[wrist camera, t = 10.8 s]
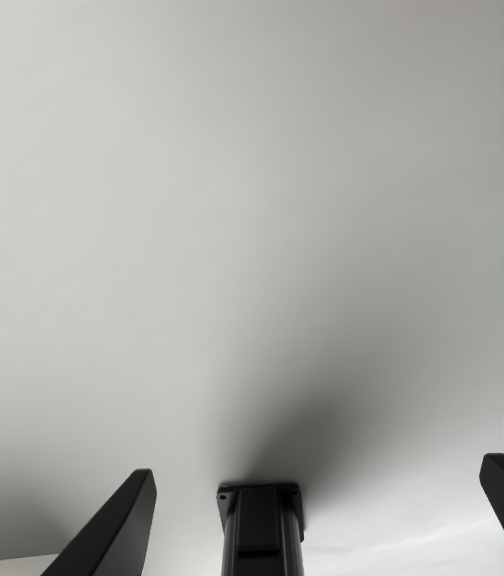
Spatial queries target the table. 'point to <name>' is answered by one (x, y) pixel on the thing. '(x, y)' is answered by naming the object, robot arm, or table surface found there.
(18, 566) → the milk
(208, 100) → the table surface
